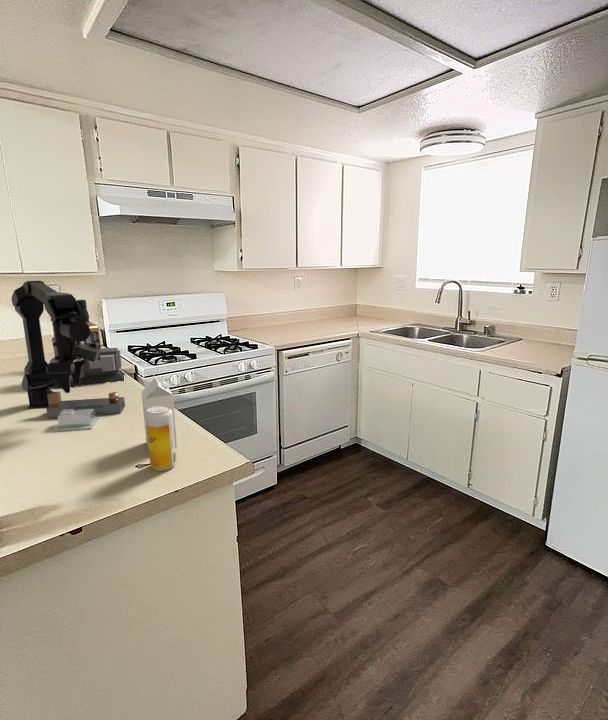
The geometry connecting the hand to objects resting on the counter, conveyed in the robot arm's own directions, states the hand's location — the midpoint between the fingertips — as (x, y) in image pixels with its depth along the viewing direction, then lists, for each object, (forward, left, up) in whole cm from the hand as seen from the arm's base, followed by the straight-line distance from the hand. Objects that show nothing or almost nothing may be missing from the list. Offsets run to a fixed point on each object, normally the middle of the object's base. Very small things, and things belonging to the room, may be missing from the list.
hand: (72, 388), depth 125 cm
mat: (0, 0, -12) cm, 12 cm away
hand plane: (0, +11, -12) cm, 16 cm away
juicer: (-11, +51, -12) cm, 54 cm away
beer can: (+29, -33, -12) cm, 46 cm away
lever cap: (0, 0, -11) cm, 11 cm away
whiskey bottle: (-16, +74, -12) cm, 77 cm away
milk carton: (+27, -20, -12) cm, 36 cm away
